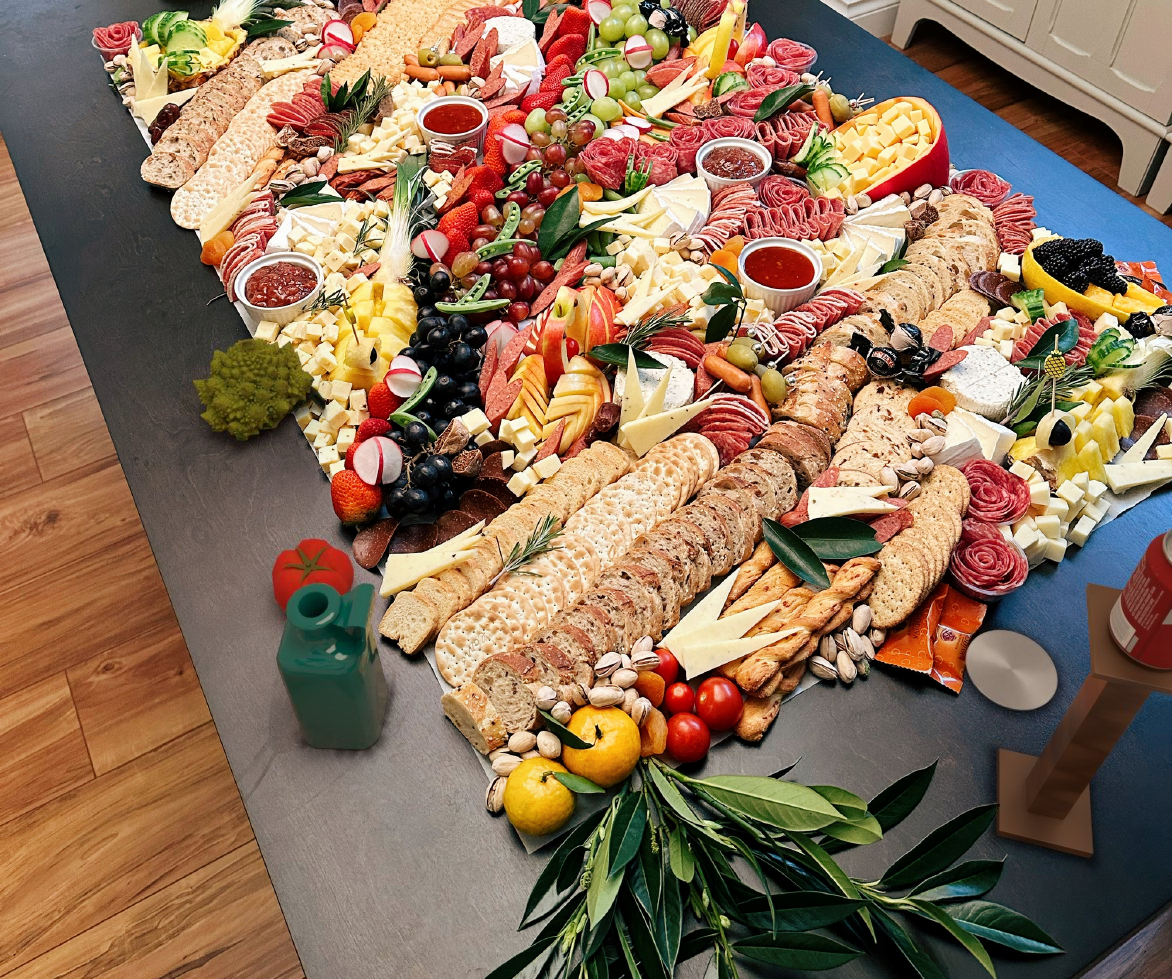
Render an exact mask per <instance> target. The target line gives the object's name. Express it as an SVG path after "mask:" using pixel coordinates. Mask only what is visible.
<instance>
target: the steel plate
mask: <svg viewBox="0 0 1172 979" xmlns="http://www.w3.org/2000/svg"><path fill="white" fill-rule="evenodd" d="M964 662H965V664H964V666H965V670H966V673H967V676H968V678H969V680H970V682H971V683H972V686H974V688H975V689H976V691H978V693H979V694H981V696H982V697H984V698H985V699H986V700H988V701H990V702H991V703H992V704H994V705H996V706H998V707H1001V708H1003V709H1005V710H1009V711H1015V712H1030V711H1031V712H1032V711H1035V710H1038V709H1041V708H1043V707H1045V706H1046V705H1047V704H1048V703H1049V702H1050V701H1051V700H1052V698H1053V697H1054V695H1055V693H1056V691H1057V688H1058V682H1059V681H1058V672H1057V669H1056V666H1055V663H1054V662H1053V660H1052V658H1051V657H1050V655H1049V654H1048V653H1047V651H1045V649H1044V648H1043V647H1042V646H1041V645H1040V644H1038V643H1037V642H1036V641H1035V640H1033V639H1032V638H1029V637H1028V636H1026V635H1024V634H1022V633H1019V632H1017V631H1012V630H1006V629H993V630H988V631H985V632H983V633H981V634H979V635H978V636H976V637H975V638H974V639H973V640H972V641H971V642H970V644H969V646H968V647H967V649H966V653H965V658H964Z"/></svg>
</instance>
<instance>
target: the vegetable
mask: <svg viewBox="0 0 1172 979" xmlns="http://www.w3.org/2000/svg"><path fill="white" fill-rule="evenodd" d="M226 350H227V351H226V352H223V351H221V350H219V349H217V350H214V352H213V356H212V361H209V364H210V368H209V370H210V372H208V374H209V375H210V377H209V378H203V379H195V380H192V383H193V385H194V387H195V389H196V391H197V393H198V394H197V396H198V397H199V400H201V404H202V405H205V406H206V410H205V412H203V413H201V414H200V415H199V416H200V417H201V418H202V419H203V420H204V421H205V422H206V423H207V424H208V425H209V426H210V427H211V429H212V430H211V432H217V433H222V432H226V431H227V432H228V433H230V435H233V436H235V437H236V440H237V441H239V442H246V441H248V439H249V437H250V436H256V435H259V434H260V430H269V429H276V428H278V426H279V423H280V422H281V421H282V420H283V419H284V418H285V417H286V416H287V415H289V414H290V413H296V412H297V411H298V409H301V408H304V407H306V406H309V405H310V404H311V403H313V404H314V405H316V407H317V408H318V409H320V410H321V411H325V410H327V409H326V407H327V403H328V400H327V399H326V398H324V397H323V396H322V394H321V393H320V392H319V390H318V389H317V388H315V387H314V386H313V383H314V381H315V377H314V376H313V375H312V374H311V373H310V372H309V371H307V370H304V369H303V366H302V362H301V359H300V355H299V352H298V350H297V351H295V347H294V344H293V343H292V342H291V341H290V340H288V342H286V343H285V344H283V345H282V347H280V345H279V341H275V342H273V343H270V342H267V339H266V340H264V338H260V337H259V338H257V339H255V337H252V338H246V339H241V340H240V339H238V341H237V342H234V346H228V348H227V349H226Z"/></svg>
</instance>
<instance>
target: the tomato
mask: <svg viewBox="0 0 1172 979" xmlns="http://www.w3.org/2000/svg"><path fill="white" fill-rule="evenodd" d="M354 578H355V569H354V566H353V564H352V561H351V559H350V557H349V555H348V553H346V552H345V551H343V550H341V549H338V548H336V547H333V546H332V545H331V544H330V543H329V542H328V541H327V540H326V539H321V538H315V537H313V538H308V539H302V540H301V541H300V542H299V543H298V545H295V548H294V549H284V550H282V551H281V552H280V554H279V555H278V556H277V557H276V560H275V562H274V565H273V568H272V571H271V579H272V587H273V596H274V600H275V602H276V603H277V605H278V606H279V607H280V608H281V610H282V611H283V612H284V613H285V614H286V611H285V610H286V607H287V603H288V600H289V599H290V597H291V596H292V595H293V593H294V592H295V591H297V590H298V589H300V588H301V587H303V586H305V585H309V584H312V583H325V584H327V585H330V586H332V587H334V588H335V589H336V590H337V592H338V593H339V594H340V596H341V595H344V594H346V593H349V592H350V591H351V589H352V587H353V584H354Z"/></svg>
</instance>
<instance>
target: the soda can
mask: <svg viewBox="0 0 1172 979" xmlns="http://www.w3.org/2000/svg"><path fill="white" fill-rule="evenodd" d="M1122 590H1123V591H1122V593H1121V595H1120V596H1119V598H1118V600H1117V601H1116V603H1115V605H1114V607H1113V608H1112V610H1111V612H1110V615H1109V629H1110V632H1111V635H1112V637H1113V639H1114V640H1115V642H1116V643H1117V645H1118V646H1119V647H1120V648H1121V649H1122V650H1123V651H1124V652H1125V653H1126V654H1127V655H1128V656H1130V657H1131V658H1132V659H1134V660H1136V661H1137V662H1139V663H1141V664H1144V665H1146V666H1149V667H1152V668H1157V669H1172V528H1170V529H1169V530H1168V531H1166V532H1163V533H1161V534H1158V535H1157V536H1156V537H1154V538H1153V539H1152V540H1151V541H1150V542H1149V544H1148V546H1147V548H1146V550H1145V551H1144V552H1143V555H1142V556H1141V558H1140V559H1139V562H1138V564H1137V565H1136V567H1135V569H1134V570H1133V571H1132V574H1131V575H1130V577H1129V579H1128V581H1127V582H1126V584H1125V586H1124V587H1123V589H1122Z"/></svg>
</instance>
